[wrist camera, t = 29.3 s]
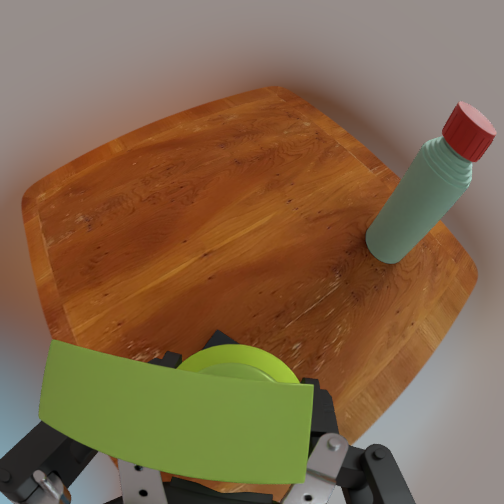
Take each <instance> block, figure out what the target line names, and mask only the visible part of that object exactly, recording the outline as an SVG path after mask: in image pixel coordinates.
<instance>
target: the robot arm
mask: <svg viewBox="0 0 504 504" xmlns="http://www.w3.org/2000/svg"><path fill="white" fill-rule="evenodd" d="M148 363H149V364H154V365H159V366H164V367H169V368H174V369H176V368H177V367H178V366H179V365H180V364H181V363H182V355H181V354H177V353H174V352H170V351H167V352H166V353H165V355H164V357H163V359H158V358H154V359H152V360H151V361H149V362H148ZM300 384H313V385H314V392H313V406H312V419H311V430H310V441H309V450H308V459H307V468H306V476H305V482H304V483H301V484H291V486H290V487H289V489H288V490H287V492H286V494H285V495H284V497H283V498H282V499H281V501H280V502H276V501H273V500H272V499H273V494H262V493H253V492H238V493H220V492H217V491H215V490H212V489H210V488H208V487H205V486H203V485H201V484H199V483H196V482H192V481H188V480H184V479H180V478H176V477H172V479H171V482H162V478H161V474H160V471H158V470H154V469H150V468H147V467H143V466H139V465H136V464H133V463H130V462H127V461H123V460H121V459H118V468H119V476H120V483H121V490H122V496H120V497H118V498H116V499H114V500H111V501H109V502H106V503H104V504H327V502H328V500H329V498H330V496H331V494H332V492H333V490H334V487H335V485H338V486H341V488H342V491H343V495H344V498H345V501H346V504H416V503H415V501H414V499H413V497H412V495H411V493H410V490H409V488H408V486H407V484H406V482H405V480H404V478H403V476H402V474H401V472H400V470H399V467H398V465H397V463H396V461H395V459H394V457H393V455H392V453H391V451H390V450H389V449H388V448H387V447H385V446H383V445H380V444H373V445H370V446H369V447H367V448H366V450H364V449H360V448H356V447H353V446H350V445H349V444H348V442H347V440H346V439H345V438H344V437H343V436H341V435H339V431H338V426H337V421H336V416H335V412H334V406H333V401H332V397H331V395H330V394H329V393H328V391H327V390H323V389H320V385H319V380H318V379H312V378H303V379H302V381H301V383H300ZM97 453H98V451H97V450H95V449H92V448H90V447H88V446H86V445H84V444H82V443H80V442H78V441H76V440H74V439H72V438H70V437H68V436H66V435H64V434H63V433H61V432H59V431H57V430H56V429H54V428H52V427H51V426H49V425H48V424H46V423H44V422H43V421H41V422H40V423H39V424H38V425H37V426H36V427H34V428H33V429H32V430H31V431H30V432H29V433H28V434H27V435H26V436H25V437H24V438H23V439H21V440H20V441H19V442H18V443H17V444H16V445H15V446H14V447H13V448H12V449H11V450H10V451H9V452H8V453H6V454H5V456H3V457H2V458H1V459H0V491H1V492H2V493H3V494H4V495H5V496H6V497H7V498H8V499H9V500H10V501H11V502H12V503H14V504H70V503H71V495H70V492H69V491H68V488H69V486H70V485H71V484H72V483H73V482H74V480H75V479H76V478H77V477H78V476H79V474H80V473H81V472H82V471H83V469H84V468H85V467H86V466H87V465H88V463H89V462H90V461H91V460H92V459H93V457H94V456H95V455H96V454H97Z"/></svg>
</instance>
